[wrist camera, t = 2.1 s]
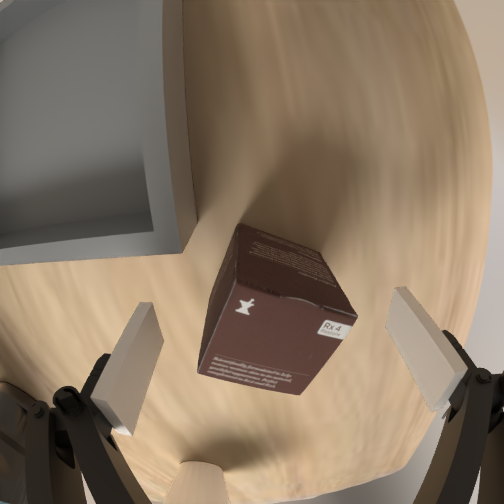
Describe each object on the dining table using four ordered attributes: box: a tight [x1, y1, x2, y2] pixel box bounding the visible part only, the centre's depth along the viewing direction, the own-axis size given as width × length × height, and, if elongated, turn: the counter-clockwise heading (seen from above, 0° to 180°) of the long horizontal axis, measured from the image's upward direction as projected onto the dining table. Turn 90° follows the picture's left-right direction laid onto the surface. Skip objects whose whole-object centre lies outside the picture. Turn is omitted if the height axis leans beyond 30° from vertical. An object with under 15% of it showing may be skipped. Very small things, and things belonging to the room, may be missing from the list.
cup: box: [162, 461, 231, 504], centre depth 27 cm, size 12×12×14 cm
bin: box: [0, 0, 198, 266], centre depth 11 cm, size 20×20×5 cm
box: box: [197, 224, 358, 395], centre depth 15 cm, size 6×6×7 cm
